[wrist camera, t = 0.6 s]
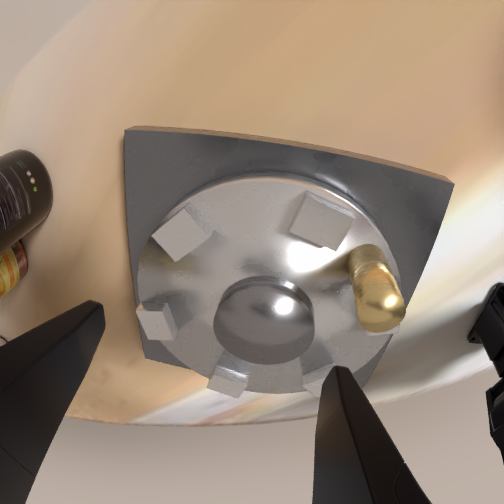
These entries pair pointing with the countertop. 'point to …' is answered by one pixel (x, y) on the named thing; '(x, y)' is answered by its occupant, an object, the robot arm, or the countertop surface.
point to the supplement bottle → (22, 195)
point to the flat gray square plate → (289, 161)
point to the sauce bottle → (12, 267)
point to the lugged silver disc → (269, 283)
